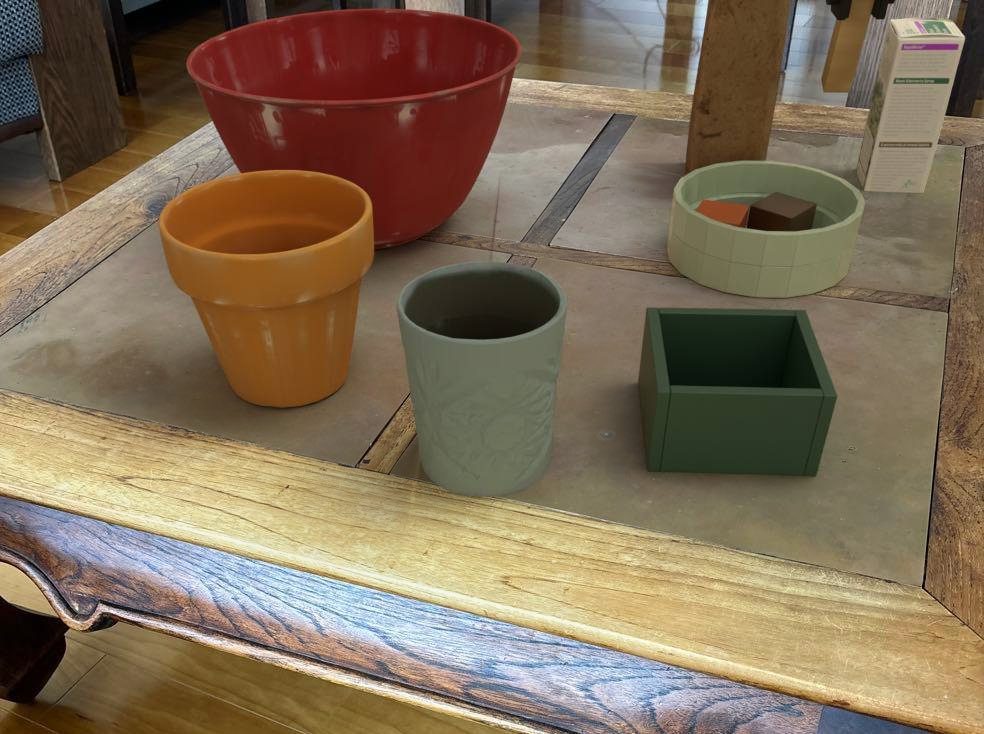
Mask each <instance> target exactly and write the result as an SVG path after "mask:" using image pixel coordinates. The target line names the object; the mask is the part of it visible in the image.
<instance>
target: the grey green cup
mask: <svg viewBox="0 0 984 734" xmlns="http://www.w3.org/2000/svg"><path fill="white" fill-rule="evenodd" d="M395 305H396V313H397V319H398V325H399V330H400V331H399V332H400V336H401V341H402V346H403V349H404V351H403V352H404V357H405V364H406V371H407V379H408V386H409V393H410V399H411V402H412V405H413V408H414V409H413V418H414V424H415V431H416V437H417V444H418V454H419V461H420V464H421V469H422V470H423V472H424V474H425V475H426V476H427V477H428V479H429V480H430V481H432V482H433V483H434V484H436V485H437V486H439V487H441V488H442V489H445V490H447V491H449V492H452V493H455V494H459V495H464V496H468V497H477V498H494V497H502V496H507V495H511V494H515V493H518V492H521V491H523V490H526V489H528V488H529V487H531V486H533V485H535V484H536V483H538V482H539V481H540V480H541V479H542V478H543V477H544V476H545V474H546V473H547V471H548V469H549V468H550V465H551V460H552V453H553V452H552V450H553V444H554V443H553V442H554V425H553V423H554V422H553V420H554V415H555V406H556V403H557V401H558V391H557V383H558V382H557V381H558V378H559V376H560V373H561V365H562V357H563V347H564V337H565V328H566V319H567V312H568V296H567V293H566V291H565V289H563V287H562V286H561V285H560V283H559V282H557V280H555V278H553V277H551V276H550V275H548V274H547V273H545V272H543V271H541V270H538V269H535V268H531V267H528V266H525V265H521V264H517V263H511V262H505V261H469V262H460V263H453V264H449V265H444V266H441V267H438V268H435V269H431V270H429V271H427V272H425V273H423V274H420V275H419V276H417V277H415V278H413V279H412V280H411V281H409V282H408V283H406V285H405V286H404V287H403V288H402V290H401V291H400V292H399V295H398V297H397V300H396V304H395Z"/></svg>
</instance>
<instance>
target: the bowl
mask: <svg viewBox="0 0 984 734" xmlns="http://www.w3.org/2000/svg"><path fill="white" fill-rule="evenodd" d="M774 192H779V193H782V194H786V195H789V196H792V197H796V198H799V199H802V200H806V201H809V202H812V203H816V204H817V206H816V211H815V216H814V220H813V225H812V229H811V230H804V231H796V232H790V231H762V230H754V229H747V223H746V228H740V227H736V226H732V225H729V224H725V223H722V222H718V221H715V220H712V219H710V218H708V217H706V216H704V215H702V214H700V213H698V212H696V210H697V208H698V206H699V205H700V203H701V202H702V200H703V199H704V200H712V201H719V202H726V203H733V204H740V205H747V206H749V210H750V206H751V205H752V204H754V203H756V202H758V201H759V200H761V199H763V198H765V197H767V196H769V195H771V194H772V193H774ZM865 206H866V199H865V198H864V196H863V194H862V193H861V191H860V189H859V188H857V187H855V185H853V184H852V183H850V182H849V181H847V180H846V179H845V178H843V177H840V176H837V175H835V174H833V173H830V172H828V171H826V170H822V169H818V168H815V167H811V166H807V165H803V164H800V163H799V164H798V163H791V162H783V161H776V160H774V161H773V160H766V161H734V162H726V163H717V164H713V165H710V166H706V167H703V168H699V169H696V170H694V171H692V172H690V173H689V174H687V175H685V174H684V175H683V176H682V177H681V178H680V179H679V180H678V182H677V183H676V184H675V186H674V188H673V193H672V201H671V208H670V217H669V219H670V220H669V224H668V233H667V240H666V241H667V242H666V254H667V260H668V262H669V263H670V264H671V265H672V266H673V267H674V268H675V269H676V271H677V272H678V273H680V275H683V276H684V277H686V278H688V279H689V280H691V281H693V282H694V283H696V284H698V285H700V286H703V287H707V288H710V289H713V290H715V291H719V292H722V293H726V294H732V295H737V296H738V295H740V296H745V297H751V298H766V299H767V298H770V299H771V298H775V299H777V298H778V299H785V298H786V299H787V298H793V297H802V296H808V295H814V294H816V293H818V292H822V291H824V290H827V289H830V288H832V287H835V286H836V285H837V284H839V282H841V281H842V280H843V279H844V278H846V277H847V275H848V274H849V269H850V266H851V262H852V259H853V254H854V250H855V247H856V243H857V238H858V234H859V231H860V230H859V229H860V226H861V222H862V219H863V215H864V210H865ZM748 216H749V211H748ZM747 222H748V217H747Z"/></svg>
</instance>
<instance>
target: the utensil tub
mask: <svg viewBox="0 0 984 734" xmlns="http://www.w3.org/2000/svg"><path fill="white" fill-rule="evenodd" d="M643 325H644V326H643V334H642V335H643V336H642V343H641V353H640V360H639V361H640V364H639V370H638V379H637V387H638V388H637V389H638V395H639V396H638V397H639V406H640V415H641V424H642V434H643V435H642V436H643V443H644V444H643V445H644V451H645V452H644V453H645V463H646V471H647V472H648V473H674V474H675V473H676V474H677V473H678V474H710V475H711V474H712V475H744V476H779V477H808V478H809V477H812V478H815V477H817V475H818V471H819V467H820V463H821V460H822V456H823V452H824V448H825V444H826V440H827V437H828V433H829V430H830V426H831V422H832V418H833V414H834V411H835V406H836V403H837V400H838V394H837V391H836V388H835V386H834V383H833V379H832V377H831V375H830V372H829V370H828V369H829V368H828V367H827V365H826V361H825V359H824V356H823V354H822V351H821V348H820V345H819V343H818V340H817V337H816V334H815V332H814V328H813V327H812V324H811V321H810V318H809V316H808V313H807V310H806V309H777V308H776V309H773V308H771V309H769V308H715V307H714V308H713V307H712V308H707V307H646V309H645V318H644V324H643Z"/></svg>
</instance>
